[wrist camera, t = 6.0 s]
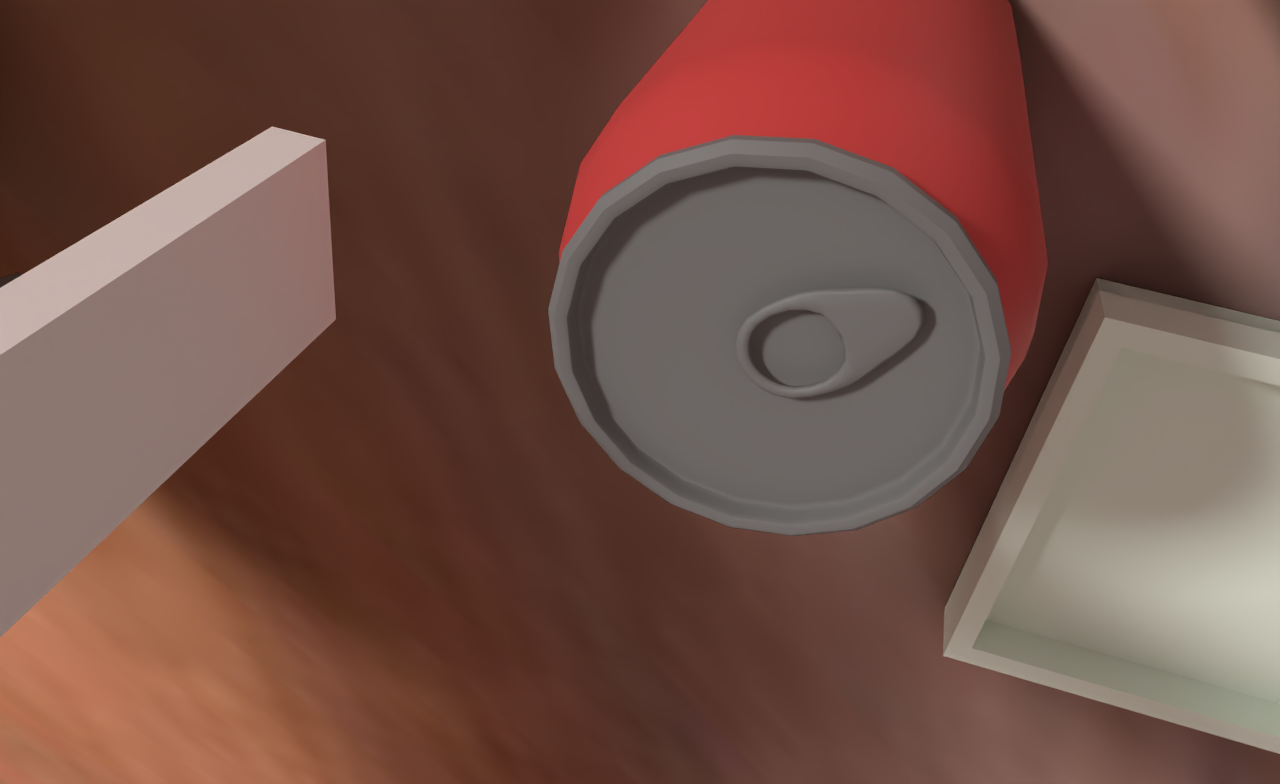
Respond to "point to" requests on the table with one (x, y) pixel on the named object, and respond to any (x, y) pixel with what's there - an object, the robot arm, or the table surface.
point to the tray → (1142, 522)
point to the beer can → (805, 260)
